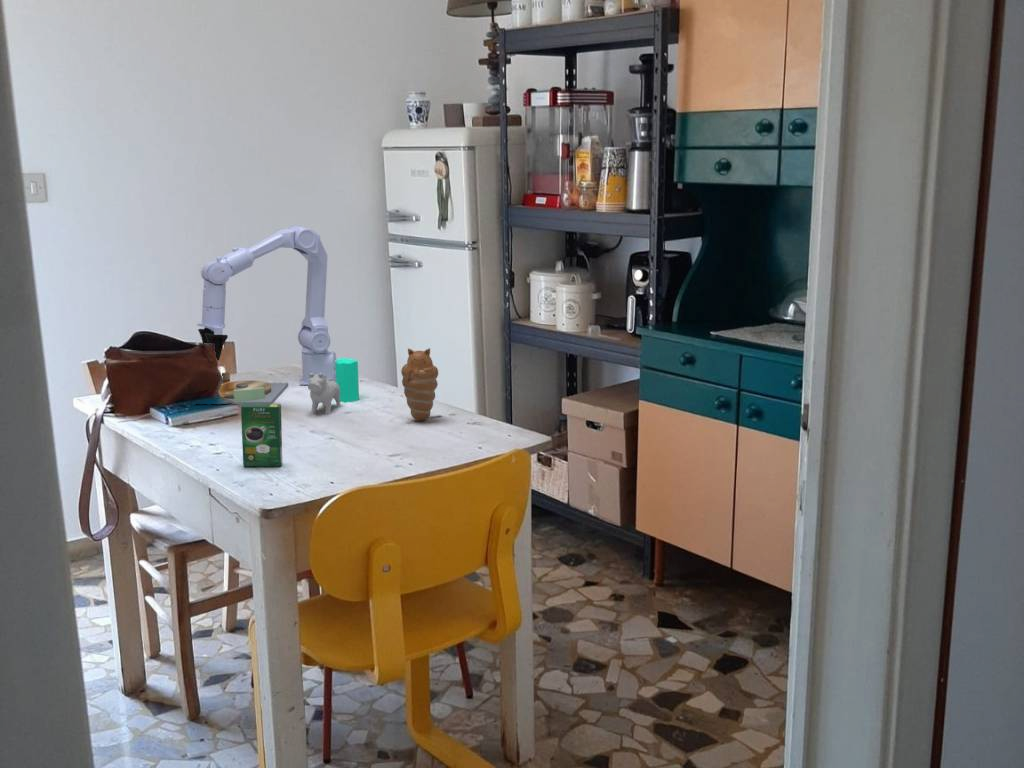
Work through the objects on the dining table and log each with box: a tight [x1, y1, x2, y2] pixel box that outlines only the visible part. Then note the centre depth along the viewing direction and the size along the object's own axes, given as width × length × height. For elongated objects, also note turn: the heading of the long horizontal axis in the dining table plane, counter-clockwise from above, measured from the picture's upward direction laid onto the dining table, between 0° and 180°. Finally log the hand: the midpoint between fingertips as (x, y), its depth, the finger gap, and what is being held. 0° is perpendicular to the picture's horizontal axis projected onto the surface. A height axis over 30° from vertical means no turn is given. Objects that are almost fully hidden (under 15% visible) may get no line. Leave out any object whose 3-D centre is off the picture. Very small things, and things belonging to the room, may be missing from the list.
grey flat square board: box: [224, 382, 289, 406], centre depth 264 cm, size 20×22×1 cm
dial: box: [219, 372, 271, 398], centre depth 263 cm, size 15×16×4 cm
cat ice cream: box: [400, 348, 439, 422], centre depth 237 cm, size 9×8×18 cm
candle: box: [335, 354, 360, 403], centre depth 259 cm, size 6×6×12 cm
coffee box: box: [240, 403, 283, 468], centre depth 203 cm, size 8×3×13 cm, turn 93°
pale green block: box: [234, 387, 265, 401], centre depth 256 cm, size 8×2×3 cm, turn 116°
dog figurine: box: [307, 373, 341, 415], centre depth 247 cm, size 5×13×11 cm, turn 168°
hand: (211, 357), depth 262 cm, fingers open, 7 cm apart
